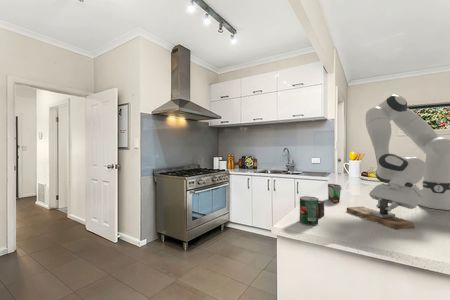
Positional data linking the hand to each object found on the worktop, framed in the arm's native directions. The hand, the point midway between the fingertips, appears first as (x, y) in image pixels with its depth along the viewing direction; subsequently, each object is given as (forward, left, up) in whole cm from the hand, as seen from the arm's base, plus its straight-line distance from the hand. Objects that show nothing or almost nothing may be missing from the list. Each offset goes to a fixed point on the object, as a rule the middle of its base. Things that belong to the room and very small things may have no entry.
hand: (382, 209), depth 101 cm
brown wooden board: (-3, -2, -6) cm, 7 cm away
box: (+10, -26, -6) cm, 29 cm away
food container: (-28, -24, -6) cm, 37 cm away
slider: (0, 0, -3) cm, 3 cm away
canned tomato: (+22, -26, -6) cm, 35 cm away
